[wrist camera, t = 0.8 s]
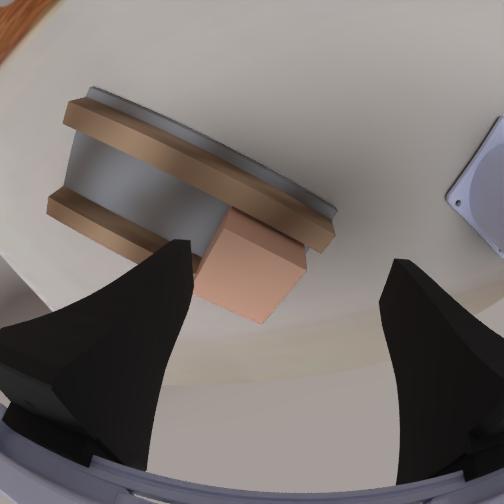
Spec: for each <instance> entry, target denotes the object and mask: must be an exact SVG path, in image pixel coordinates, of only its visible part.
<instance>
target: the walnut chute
mask: <svg viewBox="0 0 504 504" xmlns="http://www.w3.org/2000/svg"><path fill="white" fill-rule="evenodd" d="M63 124H65V125H67V126H69V127H71V128H73V129H76V134H75V137H74V141H73V145H72V149H71V154H70V158H69V162H68V167H67V172H66V177H65V182H64V186H63V187H62V188H60V189H59V190H57V191H56V192H54V193H53V194H52V195H50V196H49V197H48V204H47V213H46V214H48V215H49V216H51V217H53V218H55V219H56V220H58V221H60V222H61V223H63V224H65V225H67V226H68V227H70V228H72V229H74V230H75V231H77V232H79V233H81V234H83V235H84V236H86V237H88V238H90V239H92V240H93V241H95V242H97V243H99V244H101V245H103V246H104V247H106V248H108V249H110V250H112V251H114V252H116V253H118V254H119V255H121V256H123V257H125V258H127V259H129V260H131V261H133V262H135V263H137V264H140V263H141V262H142V261H144V260H145V259H147V258H148V257H149V256H151V255H152V254H153V253H155V252H156V251H157V250H159V249H160V248H161V247H163V246H164V245H166V244H167V243H168V242H170V241H171V240H173V239H183V240H191V253H192V265H193V277H195V274H196V271H197V269H198V266H199V264H200V261H201V259H202V256H203V254H204V252H205V250H206V248H207V247H208V245H209V243H210V241H211V239H212V237H213V236H214V234H215V232H216V230H217V228H218V227H219V225H220V223H221V221H222V219H223V218H224V216H225V214H226V212H227V211H228V209H229V207H230V205H231V206H233V207H235V208H237V209H239V210H241V211H243V212H245V213H246V214H248V215H250V216H252V217H254V218H256V219H258V220H260V221H262V222H264V223H265V224H267V225H269V226H271V227H273V228H275V229H277V230H279V231H280V232H282V233H284V234H286V235H288V236H290V237H292V238H294V239H295V240H297V241H299V242H301V243H303V244H304V246H305V254H306V252H307V251H308V250H309V248H312V249H314V250H316V251H317V252H319V253H322V252H323V251H324V250H325V248H326V247H327V246H328V245H329V243H330V242H331V241H332V239H333V238H334V237H335V236H336V234H335V231H334V227H333V224H332V221H331V219H332V218H333V217H334V215H335V214H336V213H337V209H336V208H335V207H334V206H332V205H330V204H329V203H327V202H325V201H324V200H322V199H320V198H319V197H317V196H315V195H314V194H312V193H310V192H309V191H307V190H305V189H304V188H302V187H300V186H298V185H297V184H295V183H293V182H291V181H290V180H288V179H286V178H284V177H283V176H281V175H279V174H277V173H276V172H274V171H272V170H270V169H268V168H266V167H265V166H263V165H261V164H259V163H257V162H255V161H254V160H252V159H250V158H248V157H246V156H244V155H242V154H240V153H238V152H237V151H235V150H233V149H231V148H229V147H227V146H225V145H223V144H221V143H219V142H217V141H215V140H213V139H211V138H209V137H207V136H205V135H203V134H201V133H199V132H197V131H195V130H193V129H191V128H188V127H186V126H184V125H182V124H180V123H178V122H176V121H174V120H171V119H169V118H167V117H165V116H163V115H160V114H158V113H156V112H154V111H151V110H149V109H147V108H145V107H142V106H140V105H138V104H135V103H133V102H131V101H128V100H126V99H123V98H121V97H119V96H116V95H114V94H111V93H109V92H106V91H104V90H101V89H99V88H96V87H90V88H89V91H88V93H87V96H86V97H84V98H80V99H76V100H72V101H69V102H68V105H67V109H66V113H65V116H64V120H63ZM272 313H273V312H272ZM272 313H271V314H272ZM271 314H270V315H271ZM270 315H269V316H270ZM266 320H267V319H266ZM266 320H265V321H266ZM265 321H264V322H265ZM264 322H263V323H264Z"/></svg>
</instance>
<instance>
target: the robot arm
mask: <svg viewBox="0 0 504 504" xmlns="http://www.w3.org/2000/svg"><path fill="white" fill-rule="evenodd" d="M446 200H447V202H448V203H449V204H450V205H451V206H452V207H453V208H454V209H455V210H456V211H457V212H458V213H459V214H460V215H461V216H462V217H463V218H464V219H465V220H466V221H467V222H468V223H469V224H470V225H471V226H472V227H473V228H474V229H475V230H476V231H477V232H478V233H479V234H480V235H481V236H482V237H483V238H484V239H485V240H486V242H487V243H488V244H489V245H490V246H491V247H492V248H493V249H494V250H495V251H496V253H497V254H498V255H499V256H500V257H501V258H502V259H504V117H500V118H499V119H498V120H497V122H496V124H495V125H494V127H493V129H492V130H491V132H490V133H489V135H488V136H487V138H486V140H485V141H484V143H483V144H482V146H481V147H480V149H479V150H478V152H477V153H476V155H475V156H474V158H473V159H472V161H471V162H470V163H469V165H468V166H467V168H466V169H465V171H464V172H463V173H462V175H461V176H460V178H459V179H458V180H457V182H456V183H455V185H454V186H453V187H452V189H451V190H450V191H449V193H448V194H447V197H446ZM457 200H459V201H458V203H457V204H455V202H456V201H457ZM193 290H194V277H193V265H192V253H191V240H183V239H173V240H171V241H170V242H168V243H167V244H166V245H164V246H163V247H161V248H160V249H159V250H157V251H156V252H155V253H153V254H152V255H151V256H149V257H148V258H147V259H145V260H144V261H142V262H141V263H140V264H138V265H137V266H136V267H134V268H133V269H131V270H130V271H128V272H127V273H125V274H124V275H122V276H121V277H119V278H118V279H116V280H115V281H113V282H112V283H110V284H108V285H107V286H105V287H103V288H102V289H100V290H98V291H96V292H95V293H93V294H91V295H89V296H87V297H85V298H83V299H81V300H79V301H77V302H75V303H72V304H70V305H68V306H66V307H64V308H62V309H59V310H57V311H54V312H52V313H49V314H46V315H44V316H41V317H38V318H35V319H32V320H29V321H26V322H22V323H18V324H15V325H11V326H7V327H3V328H1V329H0V390H1V391H2V392H3V393H4V395H5V396H6V397H8V399H9V400H10V401H11V403H10V405H9V407H8V408H6V407H5V406H4V405H3V404H1V403H0V492H2V493H3V494H4V495H5V496H7V497H8V498H9V499H10V500H12V501H13V502H14V503H15V504H157V503H154V502H151V501H148V500H145V499H142V498H139V497H136V496H134V494H136V495H140V496H143V497H147V498H150V499H154V500H158V501H161V502H165V503H170V504H421V503H422V504H504V338H502V337H501V336H500V335H498V334H497V333H495V332H494V331H492V330H491V329H489V328H488V327H487V326H486V325H484V324H483V323H482V322H481V321H479V320H478V319H477V318H475V317H474V316H473V315H472V314H470V313H469V312H468V311H467V310H466V309H465V308H463V307H462V306H461V305H460V304H459V303H458V302H456V301H455V300H454V299H453V298H452V297H451V296H450V295H449V294H448V293H447V292H445V291H444V290H443V289H442V288H441V287H440V286H439V285H438V284H437V283H436V282H435V281H434V280H432V279H431V278H430V277H429V276H428V275H427V274H426V273H425V272H424V271H423V270H421V269H420V268H419V267H418V266H417V265H415V264H414V263H413V262H411V261H410V260H405V259H395V258H394V261H393V264H392V267H391V270H390V273H389V276H388V279H387V281H386V284H385V287H384V289H383V292H382V295H381V297H380V300H379V307H380V315H381V321H382V327H383V331H384V334H385V338H386V342H387V346H388V349H389V353H390V357H391V361H392V364H393V368H394V373H395V377H396V383H397V390H398V400H399V415H400V451H399V464H398V474H397V481H396V486H390V487H383V488H376V489H368V490H358V491H347V492H331V493H275V492H258V491H247V490H237V489H229V488H221V487H214V486H208V485H202V484H196V483H191V482H186V481H181V480H177V479H172V478H168V477H163V476H159V475H156V474H152V473H148V472H145V471H146V470H147V462H148V454H149V446H150V439H151V433H152V427H153V422H154V416H155V411H156V407H157V402H158V397H159V393H160V389H161V385H162V381H163V377H164V373H165V369H166V366H167V363H168V360H169V357H170V355H171V352H172V350H173V347H174V345H175V342H176V340H177V337H178V335H179V332H180V330H181V327H182V325H183V322H184V320H185V317H186V315H187V312H188V309H189V305H190V302H191V298H192V294H193Z"/></svg>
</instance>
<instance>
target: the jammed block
mask: <svg viewBox="0 0 504 504" xmlns="http://www.w3.org/2000/svg"><path fill="white" fill-rule="evenodd" d="M306 271H307V266H306V256H305V246H304V244H303V243H301V242H299V241H297V240H295V239H294V238H292V237H290V236H288V235H286V234H284V233H282V232H280V231H279V230H277V229H275V228H273V227H271V226H269V225H267V224H265V223H264V222H262V221H260V220H258V219H256V218H254V217H252V216H250V215H248V214H246V213H245V212H243V211H241V210H239V209H237V208H235V207H233V206H231V205H230V207H229V209H228V211H227V212H226V214H225V216H224V218H223V219H222V221H221V223H220V225H219V227H218V228H217V230H216V232H215V234H214V236H213V237H212V239H211V241H210V243H209V245H208V247H207V248H206V250H205V252H204V254H203V256H202V259H201V261H200V264H199V266H198V269H197V271H196V274H195V277H194V290H193V294H195V295H197V296H199V297H201V298H203V299H205V300H207V301H210V302H212V303H214V304H216V305H218V306H220V307H223V308H225V309H227V310H229V311H231V312H234V313H236V314H238V315H240V316H243V317H245V318H247V319H249V320H252V321H254V322H256V323H258V324H261V325H262V324H263V322H264V321H265V320H266V319H267V318H268V317H269V315H270V314H271V313H272V312H273V311H274V310H275V308H276V307H277V306H278V305H279V304H280V303H281V301H282V300H283V299H284V298H285V297H286V295H287V294H288V293H289V292H290V291H291V289H292V288H293V287H294V286H295V285H296V283H297V282H298V281H299V280H300V278H301V277H302V276H303V275H304V274H305V272H306Z"/></svg>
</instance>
